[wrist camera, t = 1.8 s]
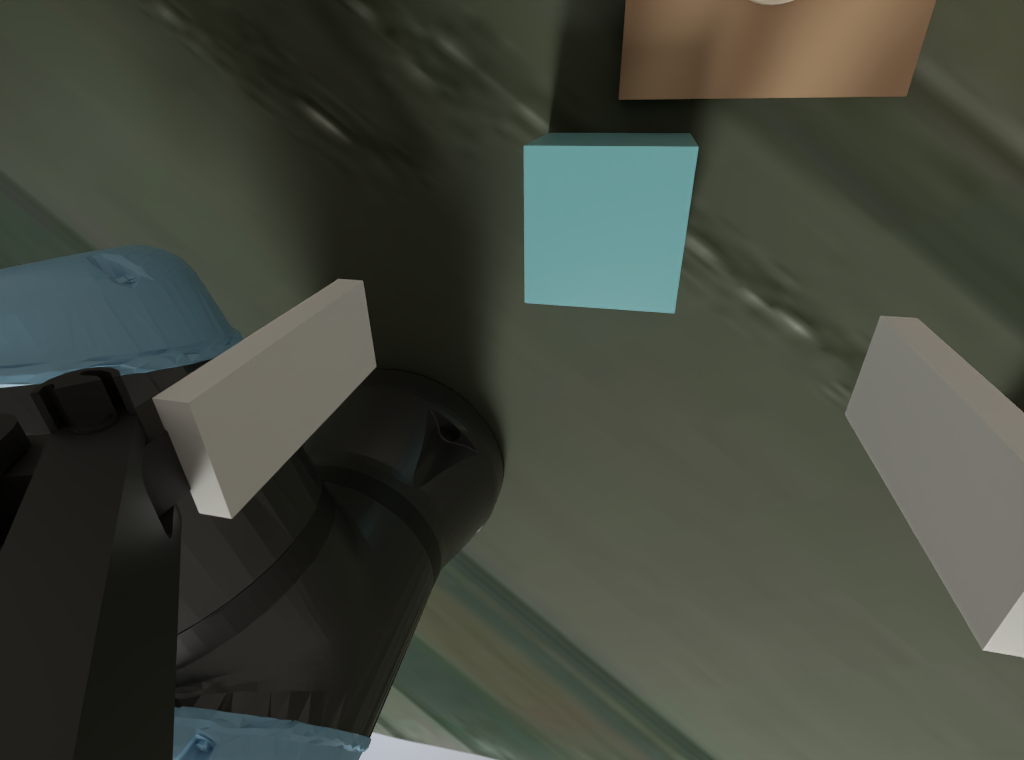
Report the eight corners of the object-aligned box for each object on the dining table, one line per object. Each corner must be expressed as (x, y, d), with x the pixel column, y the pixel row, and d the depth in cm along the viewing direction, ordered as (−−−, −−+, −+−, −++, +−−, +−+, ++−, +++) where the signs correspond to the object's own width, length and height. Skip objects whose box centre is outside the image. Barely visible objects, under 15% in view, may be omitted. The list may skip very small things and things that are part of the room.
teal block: (546, 265, 31) (524, 302, 25) (548, 132, 27) (523, 145, 22) (671, 272, 29) (674, 313, 24) (690, 132, 26) (698, 146, 21)
